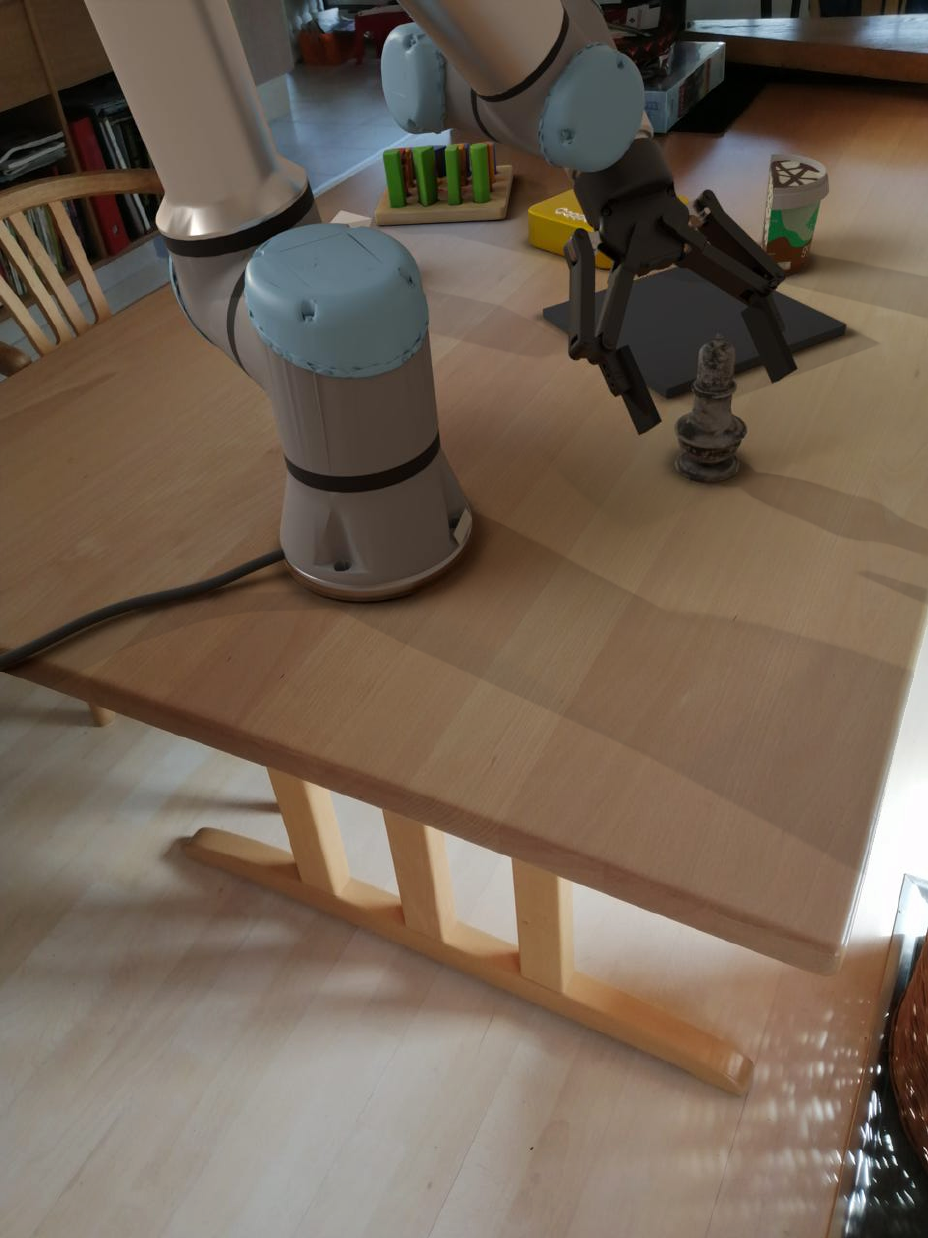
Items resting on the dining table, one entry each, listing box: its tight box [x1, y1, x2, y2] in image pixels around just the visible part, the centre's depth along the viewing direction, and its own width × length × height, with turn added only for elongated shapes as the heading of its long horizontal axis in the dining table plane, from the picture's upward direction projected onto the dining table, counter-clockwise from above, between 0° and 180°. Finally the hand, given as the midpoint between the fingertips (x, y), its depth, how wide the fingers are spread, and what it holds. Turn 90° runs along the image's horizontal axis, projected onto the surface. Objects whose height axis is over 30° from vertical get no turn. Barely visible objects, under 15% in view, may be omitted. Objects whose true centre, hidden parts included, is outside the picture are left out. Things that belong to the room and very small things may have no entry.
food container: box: [760, 153, 830, 277], centre depth 111 cm, size 12×6×10 cm, turn 168°
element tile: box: [527, 188, 691, 270], centre depth 122 cm, size 15×15×5 cm
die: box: [329, 209, 381, 231], centre depth 117 cm, size 8×9×10 cm
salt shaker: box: [673, 332, 748, 483], centre depth 81 cm, size 6×6×12 cm
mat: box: [542, 266, 847, 399], centre depth 104 cm, size 22×22×1 cm
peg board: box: [374, 141, 514, 226], centre depth 136 cm, size 18×17×9 cm
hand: (719, 402), depth 81 cm, fingers open, 13 cm apart
